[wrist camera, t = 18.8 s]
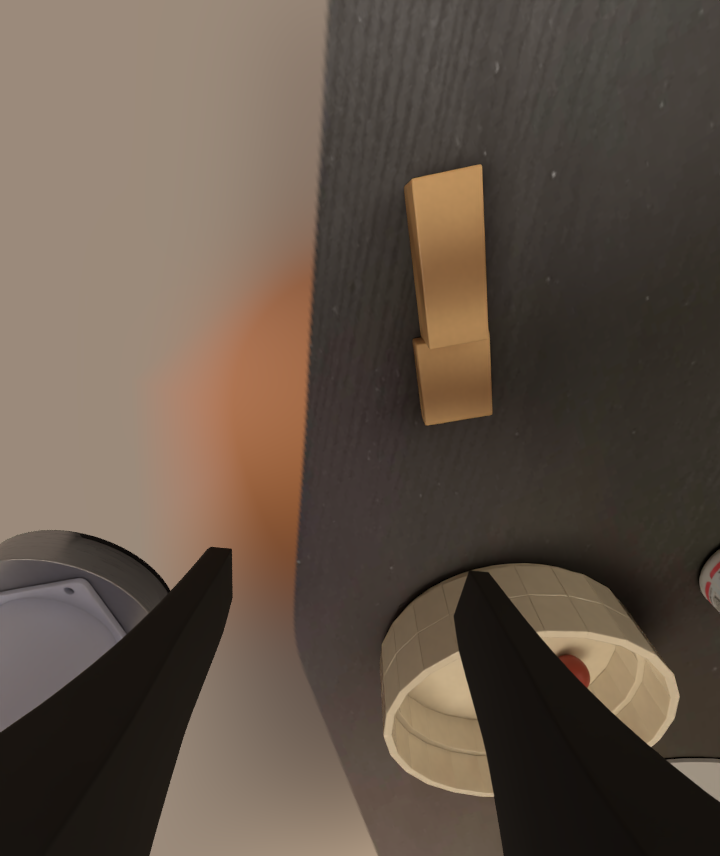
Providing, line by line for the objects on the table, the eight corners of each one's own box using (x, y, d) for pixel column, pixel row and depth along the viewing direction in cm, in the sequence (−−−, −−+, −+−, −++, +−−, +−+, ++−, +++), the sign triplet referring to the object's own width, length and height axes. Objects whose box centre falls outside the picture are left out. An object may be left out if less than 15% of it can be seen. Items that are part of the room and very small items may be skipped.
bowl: (401, 729, 32) (409, 809, 28) (356, 583, 25) (356, 659, 20) (616, 700, 31) (660, 780, 26) (634, 536, 23) (701, 607, 19)
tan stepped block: (393, 188, 15) (399, 181, 13) (475, 171, 15) (494, 160, 13) (421, 416, 20) (429, 438, 18) (485, 405, 20) (501, 426, 17)
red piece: (603, 691, 25) (579, 691, 25) (575, 694, 27) (552, 695, 26) (589, 652, 27) (566, 651, 26) (563, 657, 28) (541, 657, 27)
